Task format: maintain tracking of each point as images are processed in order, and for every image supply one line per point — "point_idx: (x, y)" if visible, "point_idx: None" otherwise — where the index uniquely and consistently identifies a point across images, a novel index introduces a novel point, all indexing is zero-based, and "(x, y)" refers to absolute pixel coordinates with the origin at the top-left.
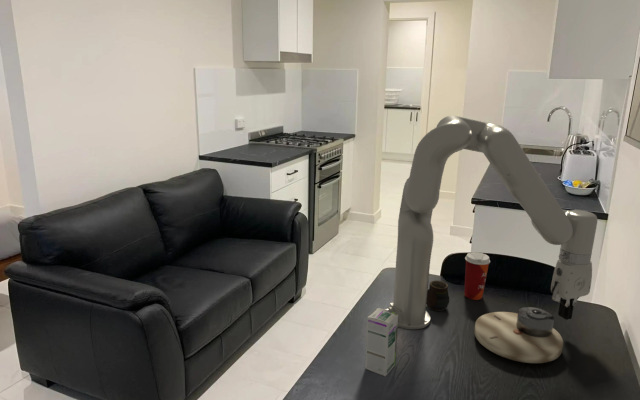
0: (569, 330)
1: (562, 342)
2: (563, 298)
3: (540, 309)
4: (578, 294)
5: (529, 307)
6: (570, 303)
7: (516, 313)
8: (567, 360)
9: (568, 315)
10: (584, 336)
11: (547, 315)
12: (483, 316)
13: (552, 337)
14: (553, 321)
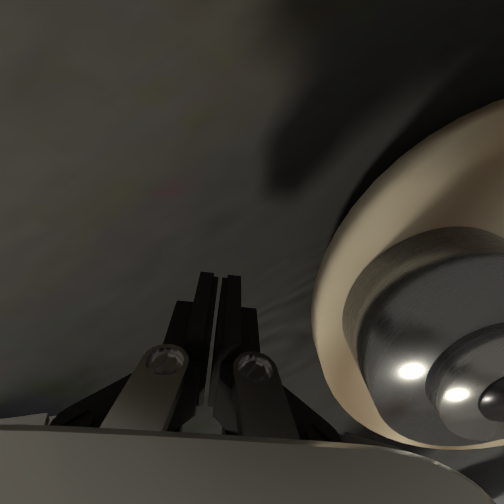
0: (163, 249)
1: (465, 139)
2: (476, 484)
3: (449, 405)
4: (179, 498)
5: (411, 436)
6: (195, 375)
7: (353, 413)
8: (447, 73)
9: (236, 291)
10: (137, 180)
11: (433, 343)
12: (492, 442)
13: (446, 209)
14: (486, 276)
